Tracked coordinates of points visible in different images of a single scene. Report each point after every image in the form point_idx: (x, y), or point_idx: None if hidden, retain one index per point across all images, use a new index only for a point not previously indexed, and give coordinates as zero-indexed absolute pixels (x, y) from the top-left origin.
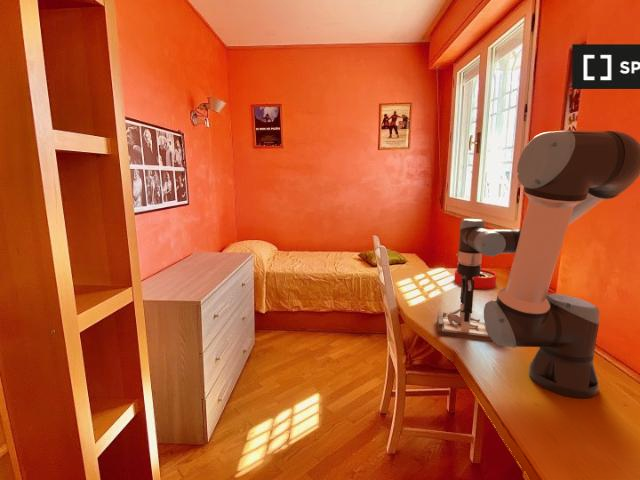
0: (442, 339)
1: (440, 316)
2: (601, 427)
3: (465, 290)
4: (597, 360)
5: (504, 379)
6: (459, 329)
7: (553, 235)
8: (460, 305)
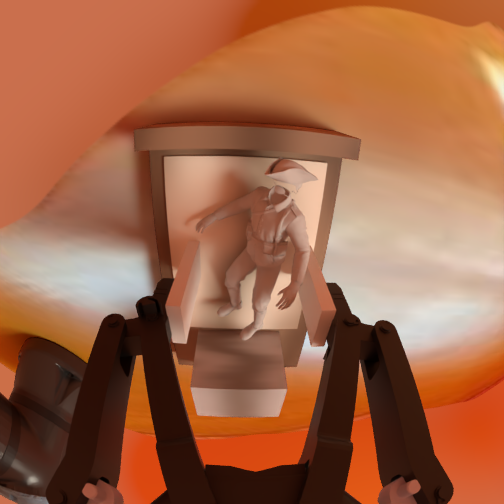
0: (109, 146)
1: (268, 142)
2: (2, 355)
3: (73, 463)
4: None
5: (5, 293)
6: (190, 232)
7: None
8: (323, 302)
